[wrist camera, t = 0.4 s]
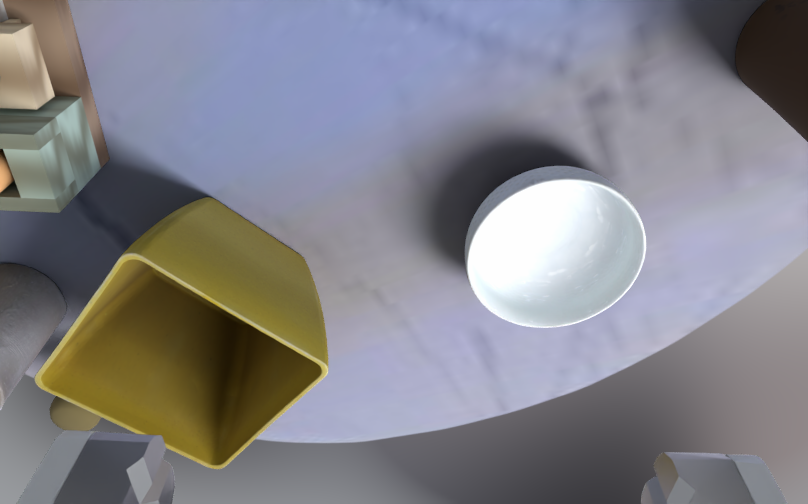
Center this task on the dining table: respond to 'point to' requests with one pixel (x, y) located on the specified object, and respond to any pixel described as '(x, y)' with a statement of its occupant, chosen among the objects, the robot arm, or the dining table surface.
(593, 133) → the dining table surface
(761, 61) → the olive oil
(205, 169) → the dining table surface
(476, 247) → the cereal bowl
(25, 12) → the rail bed
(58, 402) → the game pawn
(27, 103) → the carriage
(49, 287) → the pillar candle
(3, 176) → the plunger
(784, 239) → the dining table surface
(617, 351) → the dining table surface
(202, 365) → the flower pot
